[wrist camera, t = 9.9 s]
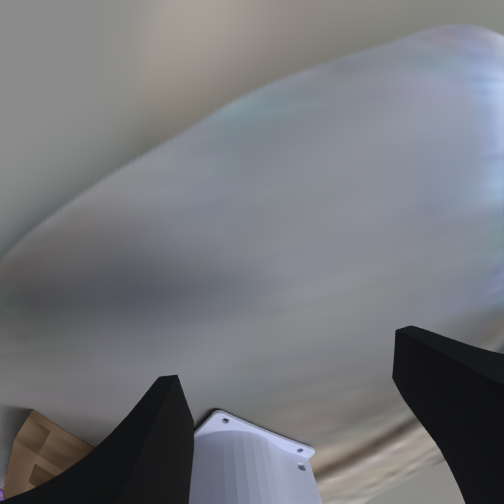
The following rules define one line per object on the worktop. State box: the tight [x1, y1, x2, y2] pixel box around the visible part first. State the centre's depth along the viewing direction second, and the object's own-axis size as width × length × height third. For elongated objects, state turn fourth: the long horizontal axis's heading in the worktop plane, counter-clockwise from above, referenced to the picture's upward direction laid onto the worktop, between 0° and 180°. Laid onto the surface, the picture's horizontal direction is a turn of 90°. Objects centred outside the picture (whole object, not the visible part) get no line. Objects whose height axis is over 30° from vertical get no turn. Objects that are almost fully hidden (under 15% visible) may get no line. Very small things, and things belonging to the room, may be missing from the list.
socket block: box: [2, 409, 95, 499], centre depth 20 cm, size 9×16×4 cm, turn 144°
